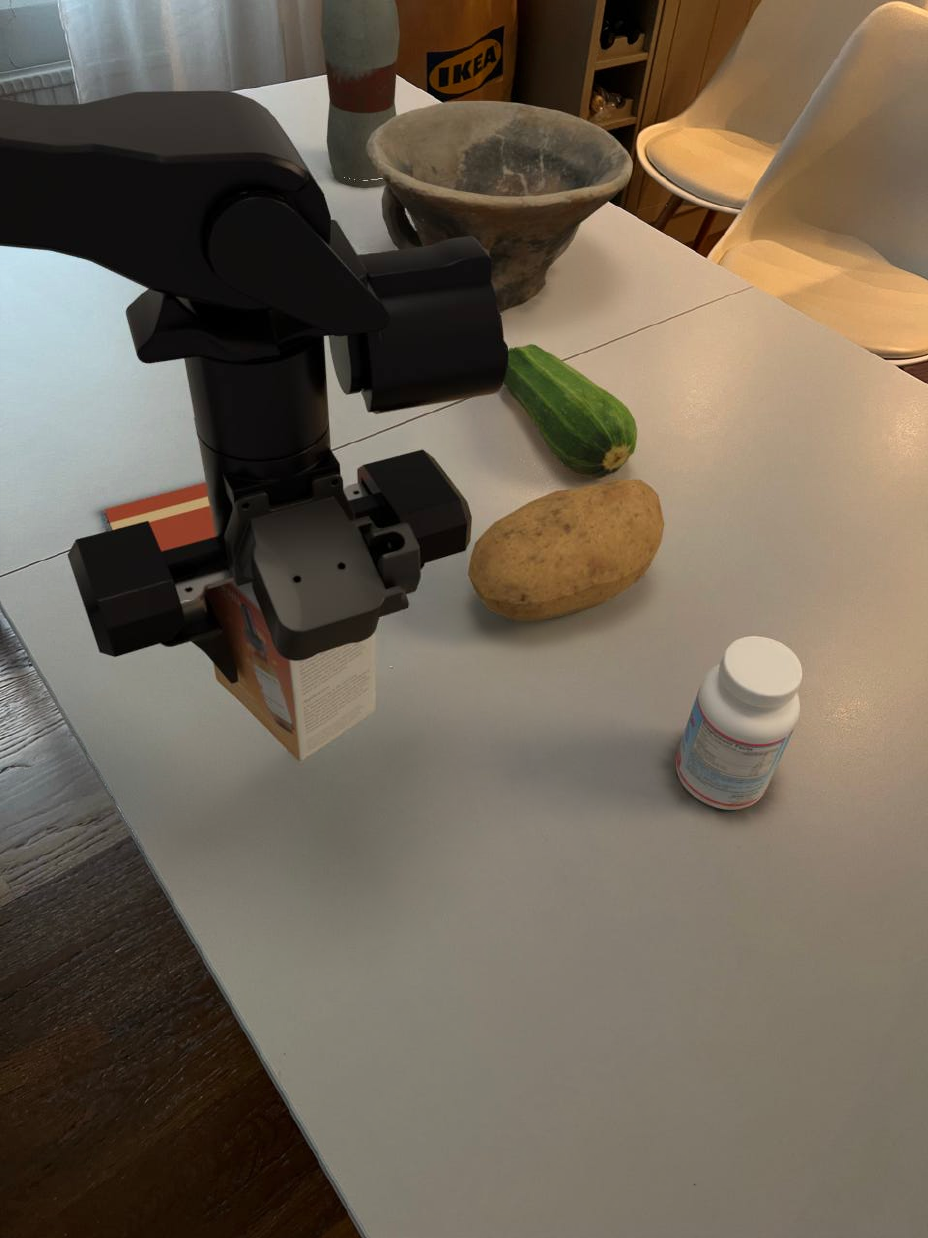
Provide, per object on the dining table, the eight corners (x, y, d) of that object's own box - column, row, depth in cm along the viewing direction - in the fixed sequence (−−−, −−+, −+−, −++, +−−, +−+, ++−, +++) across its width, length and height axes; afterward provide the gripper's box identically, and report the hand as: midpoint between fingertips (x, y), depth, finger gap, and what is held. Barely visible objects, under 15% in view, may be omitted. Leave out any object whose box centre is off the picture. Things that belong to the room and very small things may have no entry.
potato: (445, 583, 78) (449, 489, 71) (620, 537, 83) (639, 445, 76) (489, 661, 73) (498, 568, 66) (674, 608, 77) (700, 516, 70)
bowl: (550, 214, 124) (565, 83, 113) (654, 320, 107) (683, 179, 96) (341, 242, 116) (335, 105, 105) (418, 361, 100) (420, 213, 89)
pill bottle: (707, 723, 70) (747, 610, 61) (783, 775, 67) (835, 664, 59) (655, 774, 66) (690, 662, 58) (733, 831, 64) (781, 722, 55)
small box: (214, 681, 58) (187, 545, 50) (293, 634, 61) (278, 499, 53) (299, 766, 54) (284, 634, 46) (379, 712, 57) (376, 579, 49)
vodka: (314, 169, 130) (296, -112, 108) (371, 154, 134) (365, -121, 112) (356, 195, 125) (347, -94, 103) (414, 178, 129) (416, -103, 108)
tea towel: (151, 625, 74) (150, 621, 73) (104, 512, 82) (103, 508, 82) (376, 556, 80) (376, 552, 79) (311, 457, 88) (311, 453, 88)
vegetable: (604, 413, 80) (501, 296, 93) (559, 486, 84) (466, 364, 96) (667, 432, 84) (561, 318, 97) (621, 500, 88) (525, 382, 101)
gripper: (84, 603, 36) (160, 837, 47) (539, 475, 42) (510, 708, 53) (27, 432, 42) (105, 672, 54) (427, 343, 49) (422, 575, 60)
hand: (291, 658), depth 55 cm, fingers closed on small box, 6 cm apart
